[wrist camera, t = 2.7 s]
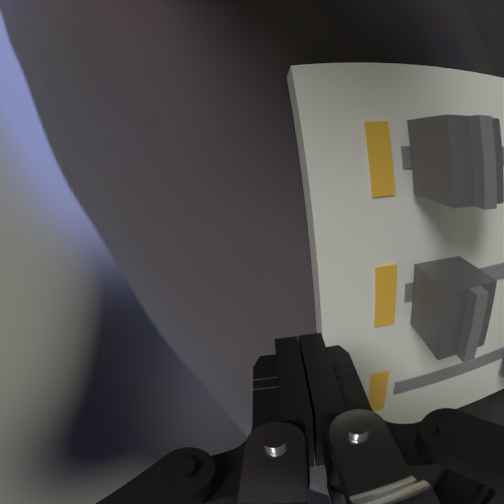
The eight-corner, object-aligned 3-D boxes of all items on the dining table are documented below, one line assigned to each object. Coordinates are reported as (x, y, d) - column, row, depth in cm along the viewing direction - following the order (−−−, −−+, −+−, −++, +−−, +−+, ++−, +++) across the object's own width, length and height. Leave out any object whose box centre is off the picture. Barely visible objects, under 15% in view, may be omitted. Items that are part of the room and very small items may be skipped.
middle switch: (458, 255, 12) (505, 287, 9) (452, 313, 13) (490, 352, 10) (414, 264, 12) (456, 300, 9) (410, 323, 13) (443, 369, 10)
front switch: (455, 121, 10) (509, 118, 7) (460, 190, 11) (513, 206, 8) (406, 120, 10) (456, 113, 7) (413, 194, 11) (463, 212, 8)
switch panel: (554, 99, 11) (574, 99, 9) (530, 354, 17) (543, 368, 15) (286, 77, 12) (290, 64, 10) (320, 421, 18) (324, 445, 16)
